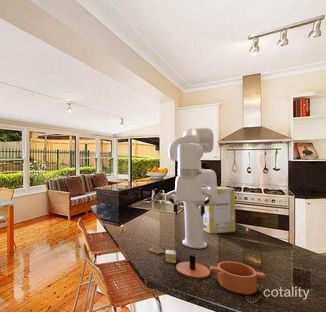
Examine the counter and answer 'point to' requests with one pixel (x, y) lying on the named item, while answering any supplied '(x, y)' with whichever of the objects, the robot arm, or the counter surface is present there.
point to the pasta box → (220, 212)
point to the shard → (157, 249)
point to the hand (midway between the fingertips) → (188, 214)
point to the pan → (237, 277)
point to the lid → (192, 268)
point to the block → (171, 256)
